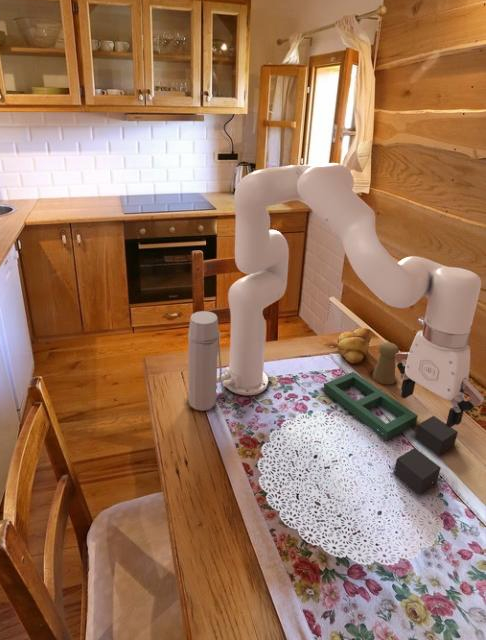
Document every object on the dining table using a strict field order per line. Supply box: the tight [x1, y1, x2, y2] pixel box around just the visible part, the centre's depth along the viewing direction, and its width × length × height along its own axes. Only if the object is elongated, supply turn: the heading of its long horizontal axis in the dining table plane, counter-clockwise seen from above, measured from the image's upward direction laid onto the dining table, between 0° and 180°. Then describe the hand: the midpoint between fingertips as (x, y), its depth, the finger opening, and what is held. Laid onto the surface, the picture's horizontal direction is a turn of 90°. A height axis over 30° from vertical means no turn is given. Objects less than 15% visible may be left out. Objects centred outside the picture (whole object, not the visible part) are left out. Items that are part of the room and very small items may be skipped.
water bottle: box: [187, 310, 223, 412], centre depth 102 cm, size 9×8×25 cm
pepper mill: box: [372, 341, 400, 385], centre depth 115 cm, size 6×6×11 cm
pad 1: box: [414, 415, 459, 456], centre depth 94 cm, size 6×6×4 cm
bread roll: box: [337, 327, 372, 364], centre depth 127 cm, size 13×10×8 cm
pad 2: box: [393, 447, 442, 496], centre depth 84 cm, size 6×6×4 cm
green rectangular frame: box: [323, 371, 419, 441], centre depth 105 cm, size 11×20×2 cm, turn 31°
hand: (428, 409), depth 81 cm, fingers open, 9 cm apart
